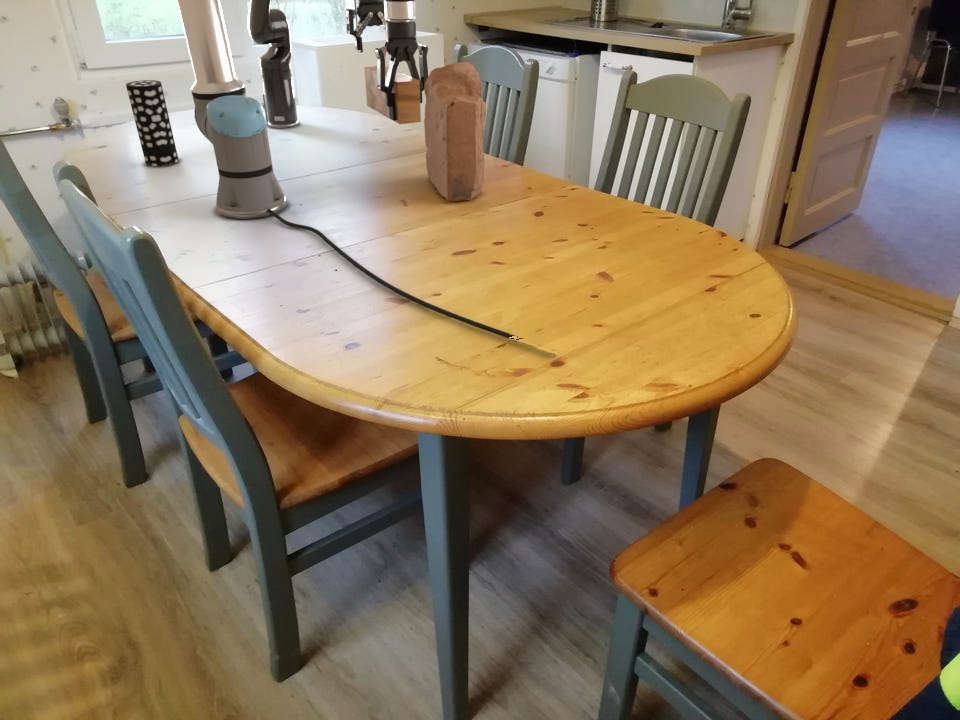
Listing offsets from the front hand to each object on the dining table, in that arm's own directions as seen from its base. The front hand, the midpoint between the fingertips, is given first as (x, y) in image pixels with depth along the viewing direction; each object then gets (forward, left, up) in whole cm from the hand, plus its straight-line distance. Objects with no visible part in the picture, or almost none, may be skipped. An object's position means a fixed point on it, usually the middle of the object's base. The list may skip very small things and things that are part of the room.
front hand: (404, 117), depth 180 cm
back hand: (+17, 0, +14) cm, 22 cm away
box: (+8, 0, -1) cm, 8 cm away
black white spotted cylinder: (+32, +58, -2) cm, 66 cm away
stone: (-23, -3, -12) cm, 26 cm away
